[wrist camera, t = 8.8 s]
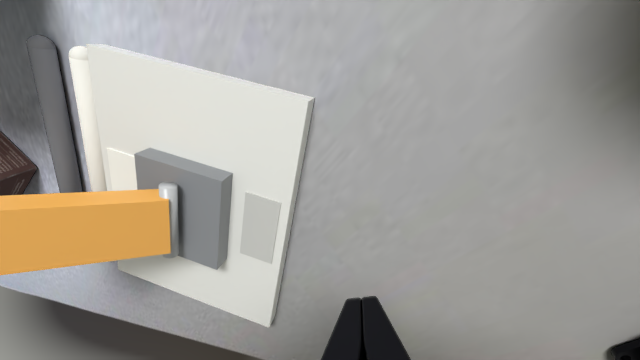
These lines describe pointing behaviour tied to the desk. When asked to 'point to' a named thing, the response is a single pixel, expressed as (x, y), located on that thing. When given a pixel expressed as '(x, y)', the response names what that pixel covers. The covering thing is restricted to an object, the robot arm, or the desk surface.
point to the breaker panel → (205, 171)
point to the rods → (57, 114)
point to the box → (13, 168)
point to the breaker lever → (87, 227)
